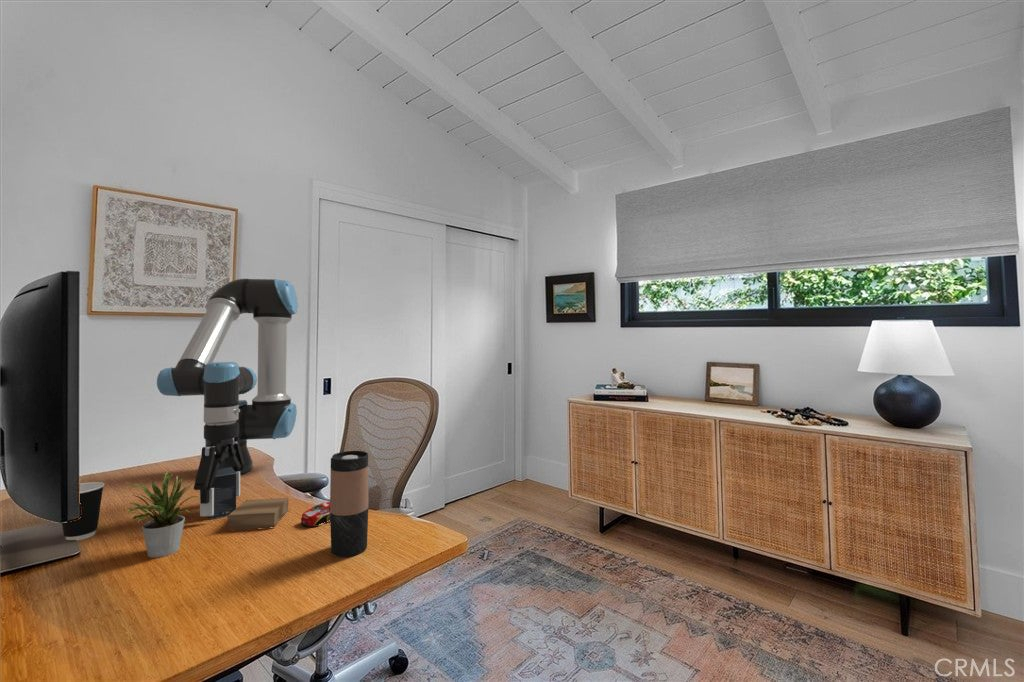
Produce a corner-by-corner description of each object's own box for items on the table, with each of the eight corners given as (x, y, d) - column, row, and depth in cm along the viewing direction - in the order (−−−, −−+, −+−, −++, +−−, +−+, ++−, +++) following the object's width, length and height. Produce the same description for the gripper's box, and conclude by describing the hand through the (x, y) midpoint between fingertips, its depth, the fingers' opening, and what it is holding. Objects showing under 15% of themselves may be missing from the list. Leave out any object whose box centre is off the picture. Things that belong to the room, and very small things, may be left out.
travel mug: (376, 546, 95) (376, 453, 95) (346, 561, 89) (346, 461, 89) (351, 538, 99) (352, 448, 99) (321, 552, 93) (322, 456, 93)
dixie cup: (114, 529, 103) (114, 481, 103) (80, 544, 96) (80, 493, 96) (80, 528, 104) (80, 481, 104) (44, 544, 96) (44, 493, 96)
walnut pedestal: (245, 515, 112) (246, 500, 112) (288, 513, 114) (288, 497, 114) (227, 532, 103) (227, 515, 103) (274, 529, 104) (274, 512, 104)
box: (236, 514, 113) (236, 472, 112) (209, 520, 109) (209, 477, 109) (232, 505, 119) (232, 465, 119) (206, 510, 115) (206, 469, 115)
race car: (346, 508, 117) (346, 493, 118) (358, 513, 114) (359, 498, 114) (297, 524, 107) (297, 508, 107) (309, 530, 104) (309, 513, 104)
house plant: (117, 547, 94) (117, 471, 94) (197, 530, 103) (197, 459, 103) (114, 575, 83) (114, 488, 83) (203, 552, 92) (204, 474, 92)
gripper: (211, 432, 102) (211, 524, 102) (258, 414, 127) (257, 488, 127) (175, 432, 101) (175, 526, 101) (229, 414, 126) (229, 489, 126)
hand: (221, 505), depth 114 cm, fingers open, 13 cm apart
